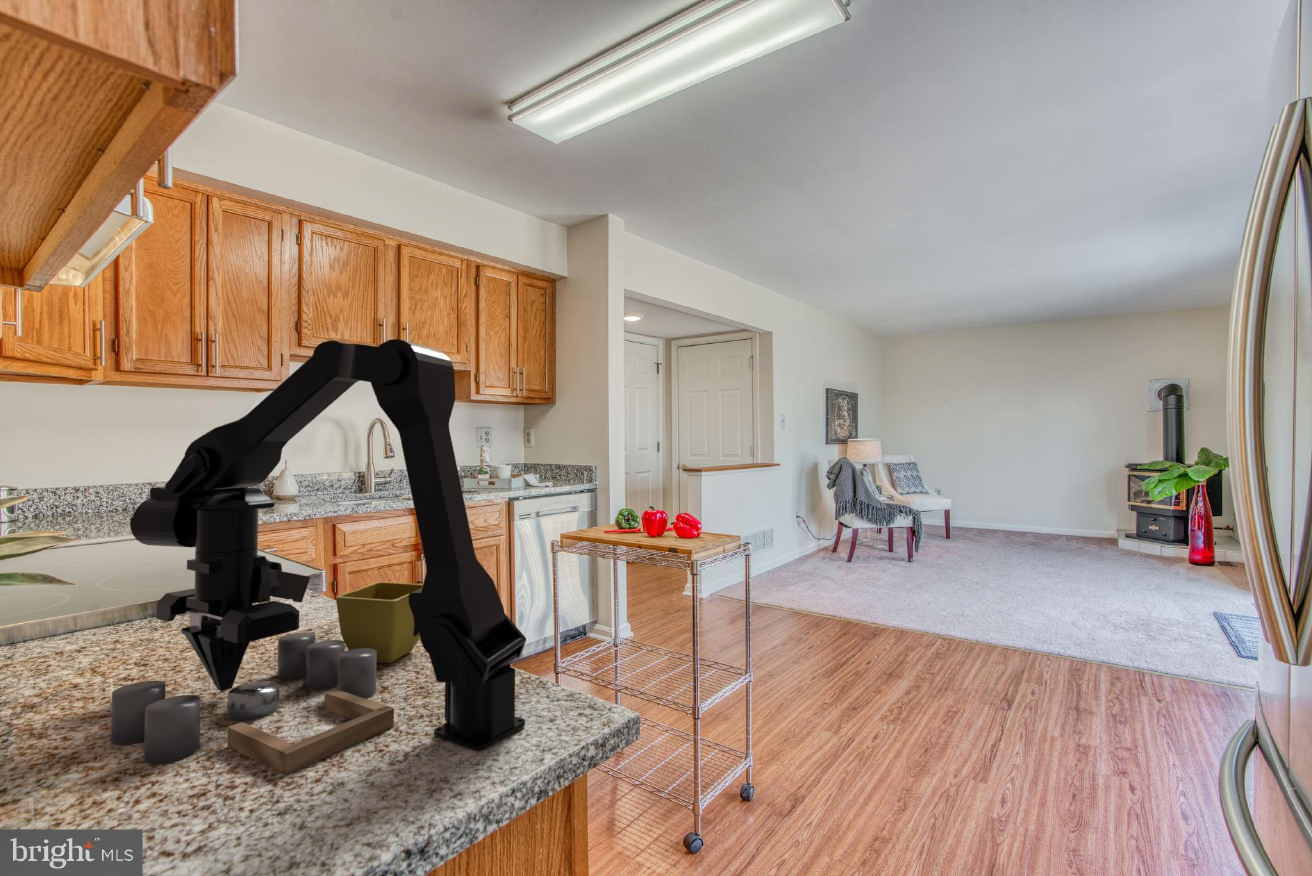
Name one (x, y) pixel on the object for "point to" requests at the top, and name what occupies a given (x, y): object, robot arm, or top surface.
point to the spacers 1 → (156, 721)
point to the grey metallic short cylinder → (253, 701)
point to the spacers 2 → (327, 664)
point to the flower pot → (379, 619)
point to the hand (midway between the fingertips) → (224, 689)
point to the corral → (292, 757)
